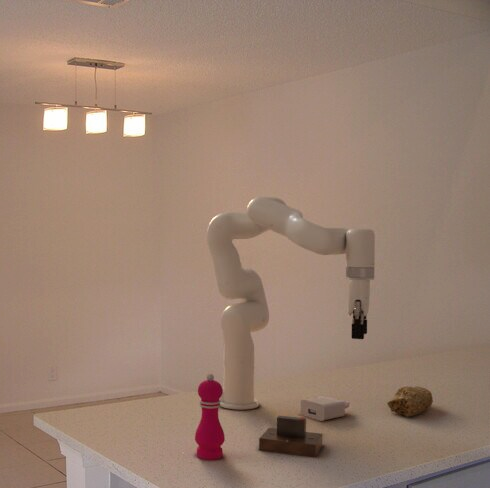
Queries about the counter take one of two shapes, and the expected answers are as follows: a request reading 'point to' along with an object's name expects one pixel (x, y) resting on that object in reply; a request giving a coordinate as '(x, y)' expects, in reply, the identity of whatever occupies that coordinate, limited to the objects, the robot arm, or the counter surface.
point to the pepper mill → (209, 420)
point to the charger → (323, 408)
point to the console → (291, 443)
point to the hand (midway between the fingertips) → (359, 336)
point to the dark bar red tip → (291, 426)
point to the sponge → (410, 401)
